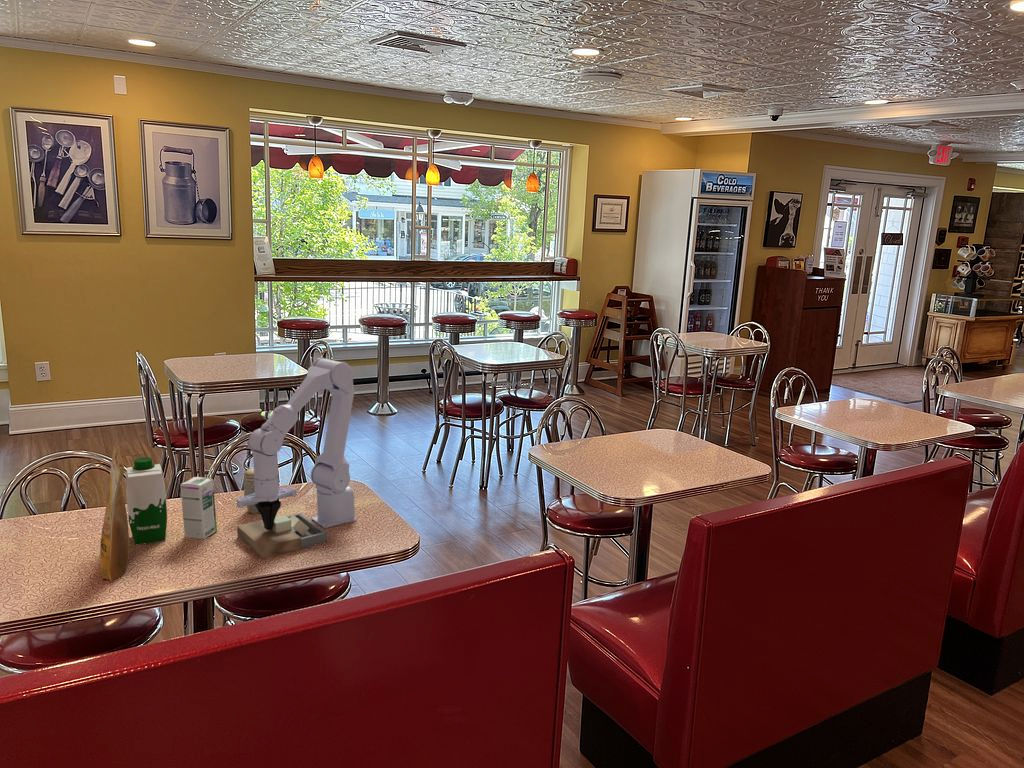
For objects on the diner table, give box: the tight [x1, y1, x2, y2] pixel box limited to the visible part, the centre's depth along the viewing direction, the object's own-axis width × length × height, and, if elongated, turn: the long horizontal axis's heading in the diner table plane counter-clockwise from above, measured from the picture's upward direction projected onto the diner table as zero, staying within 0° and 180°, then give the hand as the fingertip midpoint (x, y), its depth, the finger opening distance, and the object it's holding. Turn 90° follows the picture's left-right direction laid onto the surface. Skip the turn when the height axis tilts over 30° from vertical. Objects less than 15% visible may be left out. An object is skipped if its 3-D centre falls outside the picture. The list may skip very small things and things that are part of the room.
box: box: [286, 512, 328, 549], centre depth 199 cm, size 7×16×2 cm, turn 39°
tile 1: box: [272, 514, 292, 533], centre depth 195 cm, size 4×4×2 cm
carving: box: [243, 467, 260, 514], centre depth 213 cm, size 6×8×12 cm
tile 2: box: [289, 514, 309, 536], centre depth 198 cm, size 4×4×2 cm
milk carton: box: [125, 457, 168, 546], centre depth 193 cm, size 9×9×20 cm
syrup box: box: [180, 476, 218, 540], centre depth 196 cm, size 6×6×14 cm
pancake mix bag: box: [99, 441, 130, 583], centre depth 176 cm, size 7×19×28 cm, turn 23°
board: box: [236, 519, 301, 560], centre depth 194 cm, size 10×16×3 cm, turn 39°
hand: (268, 528), depth 193 cm, fingers closed
